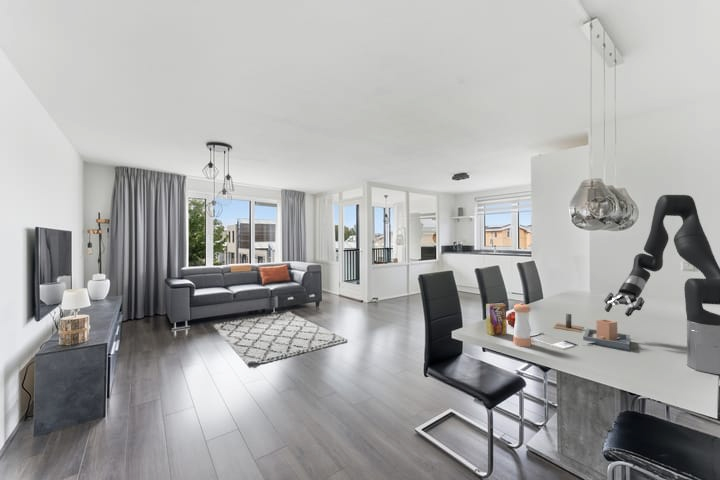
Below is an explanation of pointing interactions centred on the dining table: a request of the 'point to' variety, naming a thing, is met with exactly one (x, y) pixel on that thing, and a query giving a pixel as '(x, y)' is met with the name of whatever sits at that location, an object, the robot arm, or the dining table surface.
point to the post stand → (568, 325)
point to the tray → (609, 341)
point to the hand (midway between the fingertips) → (616, 313)
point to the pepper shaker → (522, 325)
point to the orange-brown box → (607, 330)
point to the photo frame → (559, 345)
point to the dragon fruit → (511, 318)
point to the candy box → (496, 319)
